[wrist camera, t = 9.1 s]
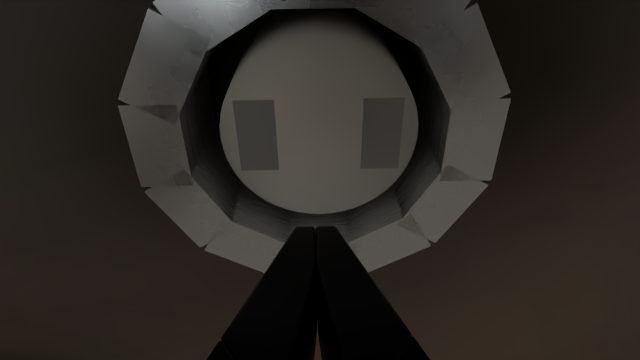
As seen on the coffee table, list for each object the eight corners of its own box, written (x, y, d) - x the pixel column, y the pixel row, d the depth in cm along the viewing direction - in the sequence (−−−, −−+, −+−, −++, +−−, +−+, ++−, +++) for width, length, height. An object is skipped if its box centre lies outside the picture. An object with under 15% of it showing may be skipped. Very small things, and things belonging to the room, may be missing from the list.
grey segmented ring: (192, 212, 19) (167, 280, 16) (131, -75, 13) (69, -63, 10) (441, 207, 19) (468, 274, 16) (491, -81, 13) (551, -70, 10)
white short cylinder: (245, 162, 18) (232, 215, 15) (226, 7, 15) (205, 37, 12) (392, 159, 18) (407, 212, 15) (406, 5, 15) (430, 33, 12)
